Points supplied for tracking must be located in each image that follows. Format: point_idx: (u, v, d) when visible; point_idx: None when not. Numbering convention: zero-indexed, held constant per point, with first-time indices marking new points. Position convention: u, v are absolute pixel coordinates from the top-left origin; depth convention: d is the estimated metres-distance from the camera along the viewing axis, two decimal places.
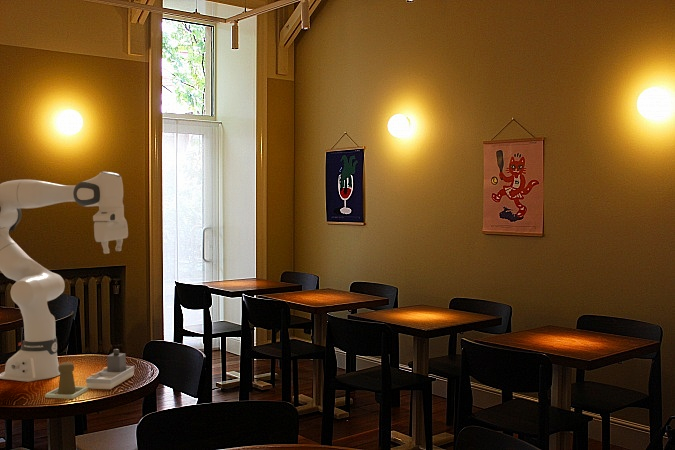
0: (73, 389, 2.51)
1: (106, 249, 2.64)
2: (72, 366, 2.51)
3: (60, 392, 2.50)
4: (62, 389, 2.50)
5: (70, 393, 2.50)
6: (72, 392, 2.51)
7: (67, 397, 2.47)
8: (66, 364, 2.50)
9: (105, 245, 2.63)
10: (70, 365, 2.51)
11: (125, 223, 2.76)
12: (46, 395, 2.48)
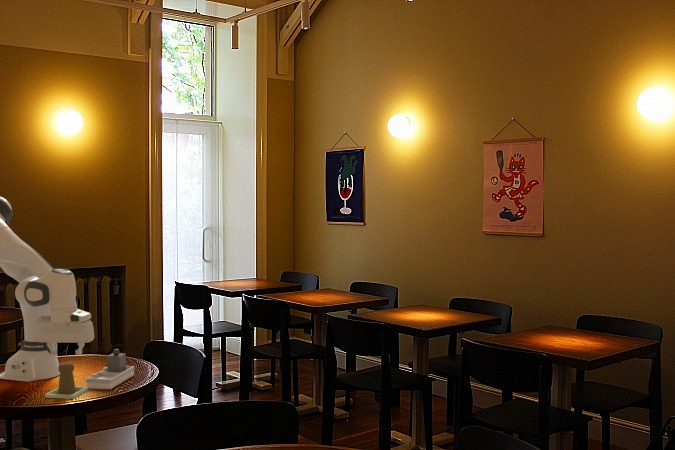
0: (73, 389, 2.51)
1: (81, 350, 2.51)
2: (72, 366, 2.51)
3: (60, 392, 2.50)
4: (62, 389, 2.50)
5: (70, 393, 2.50)
6: (72, 392, 2.51)
7: (67, 397, 2.47)
8: (66, 364, 2.50)
9: (83, 345, 2.50)
10: (70, 365, 2.51)
11: None
12: (46, 395, 2.48)
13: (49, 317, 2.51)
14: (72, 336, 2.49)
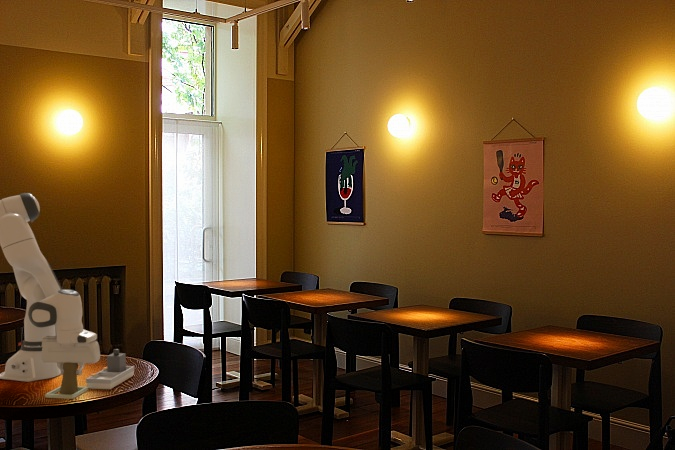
0: (76, 388, 2.52)
1: (81, 370, 2.53)
2: (76, 365, 2.52)
3: (63, 390, 2.50)
4: (65, 387, 2.50)
5: (73, 392, 2.51)
6: (75, 391, 2.52)
7: (67, 397, 2.47)
8: None
9: (83, 366, 2.53)
10: (75, 364, 2.52)
11: None
12: (46, 395, 2.48)
13: (54, 337, 2.52)
14: (78, 357, 2.51)
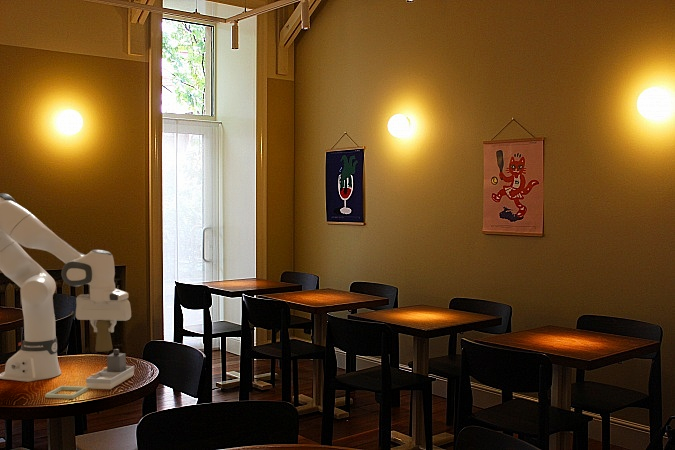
0: (110, 345, 2.61)
1: (113, 327, 2.62)
2: (109, 323, 2.61)
3: (98, 347, 2.60)
4: (99, 345, 2.59)
5: (107, 348, 2.60)
6: (109, 347, 2.61)
7: (67, 397, 2.47)
8: (103, 320, 2.60)
9: (115, 323, 2.62)
10: (107, 321, 2.61)
11: None
12: (46, 395, 2.48)
13: (88, 296, 2.62)
14: (110, 314, 2.59)
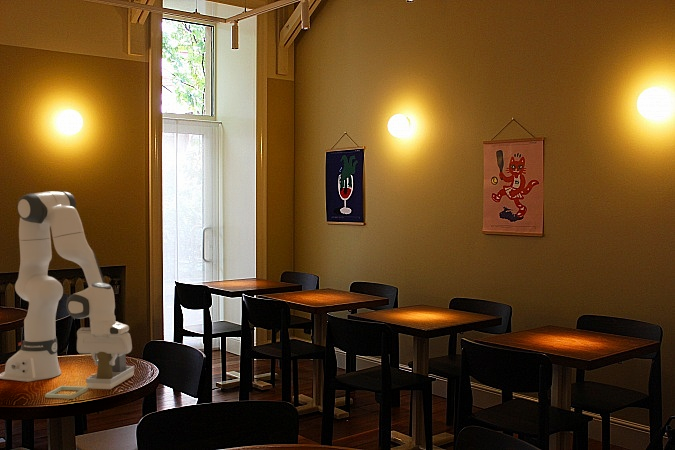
0: (111, 375, 2.62)
1: (114, 361, 2.62)
2: None
3: (98, 378, 2.60)
4: (100, 375, 2.60)
5: None
6: (110, 378, 2.61)
7: (67, 397, 2.47)
8: None
9: (116, 356, 2.62)
10: None
11: None
12: (46, 395, 2.48)
13: (89, 329, 2.62)
14: (111, 348, 2.60)
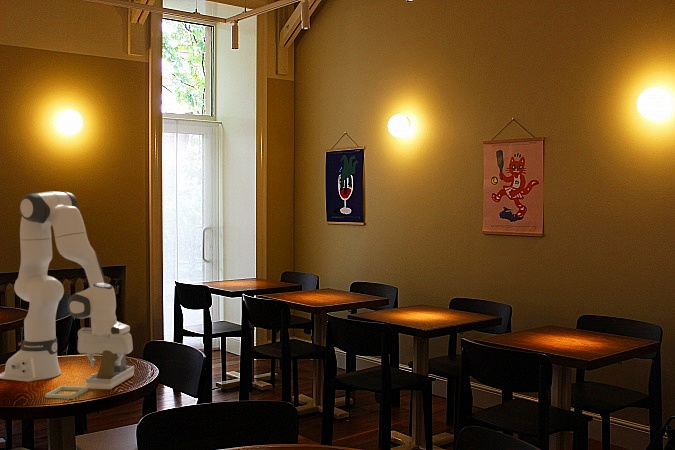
0: (112, 375, 2.62)
1: (120, 361, 2.62)
2: None
3: (99, 375, 2.60)
4: (102, 373, 2.60)
5: (108, 378, 2.60)
6: (110, 378, 2.61)
7: (67, 397, 2.47)
8: None
9: (122, 356, 2.62)
10: None
11: None
12: (46, 395, 2.48)
13: (90, 329, 2.62)
14: (112, 348, 2.60)
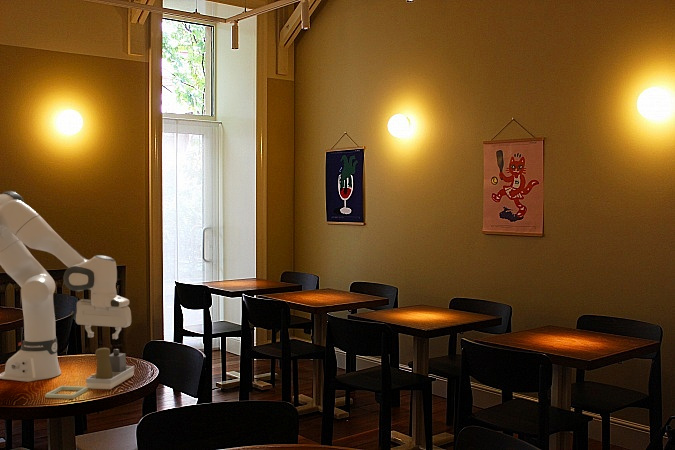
0: (110, 372, 2.62)
1: (117, 334, 2.62)
2: (108, 350, 2.63)
3: (98, 375, 2.60)
4: (99, 372, 2.60)
5: (107, 376, 2.61)
6: (109, 375, 2.61)
7: (67, 397, 2.47)
8: (102, 348, 2.62)
9: (119, 330, 2.62)
10: (106, 349, 2.63)
11: None
12: (46, 395, 2.48)
13: (89, 301, 2.62)
14: (110, 320, 2.60)
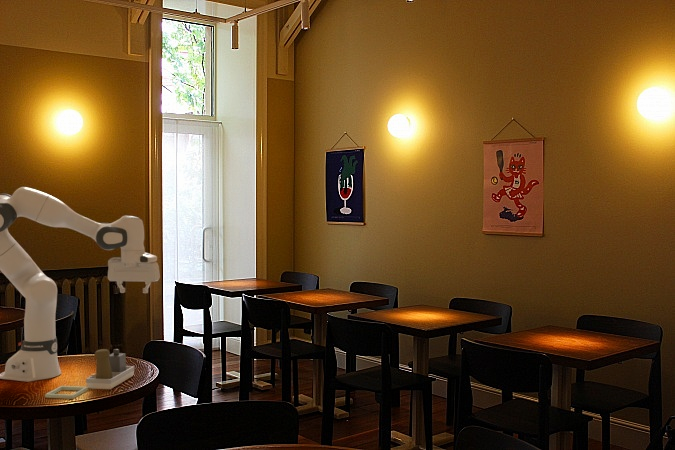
0: (109, 375, 2.61)
1: (147, 288, 2.79)
2: (107, 352, 2.61)
3: (97, 377, 2.60)
4: (98, 375, 2.60)
5: (106, 378, 2.60)
6: (108, 377, 2.60)
7: (67, 397, 2.47)
8: (101, 351, 2.61)
9: (149, 284, 2.79)
10: (104, 351, 2.61)
11: None
12: (46, 395, 2.48)
13: (119, 258, 2.79)
14: (140, 276, 2.77)
